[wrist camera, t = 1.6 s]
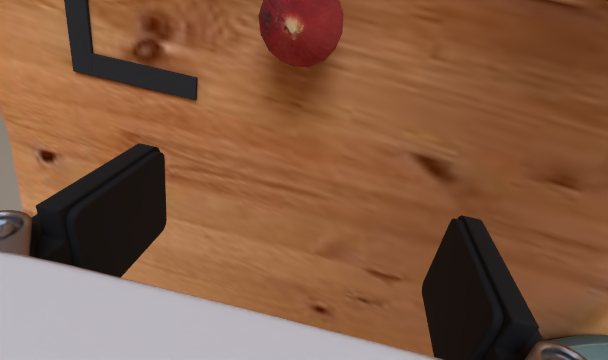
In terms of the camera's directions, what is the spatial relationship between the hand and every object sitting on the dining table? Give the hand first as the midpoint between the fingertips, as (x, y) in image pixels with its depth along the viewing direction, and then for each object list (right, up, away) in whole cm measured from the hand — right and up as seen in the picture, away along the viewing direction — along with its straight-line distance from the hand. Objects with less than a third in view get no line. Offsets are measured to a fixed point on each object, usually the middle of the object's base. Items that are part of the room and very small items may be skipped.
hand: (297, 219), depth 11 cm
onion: (+1, +14, +16) cm, 22 cm away
